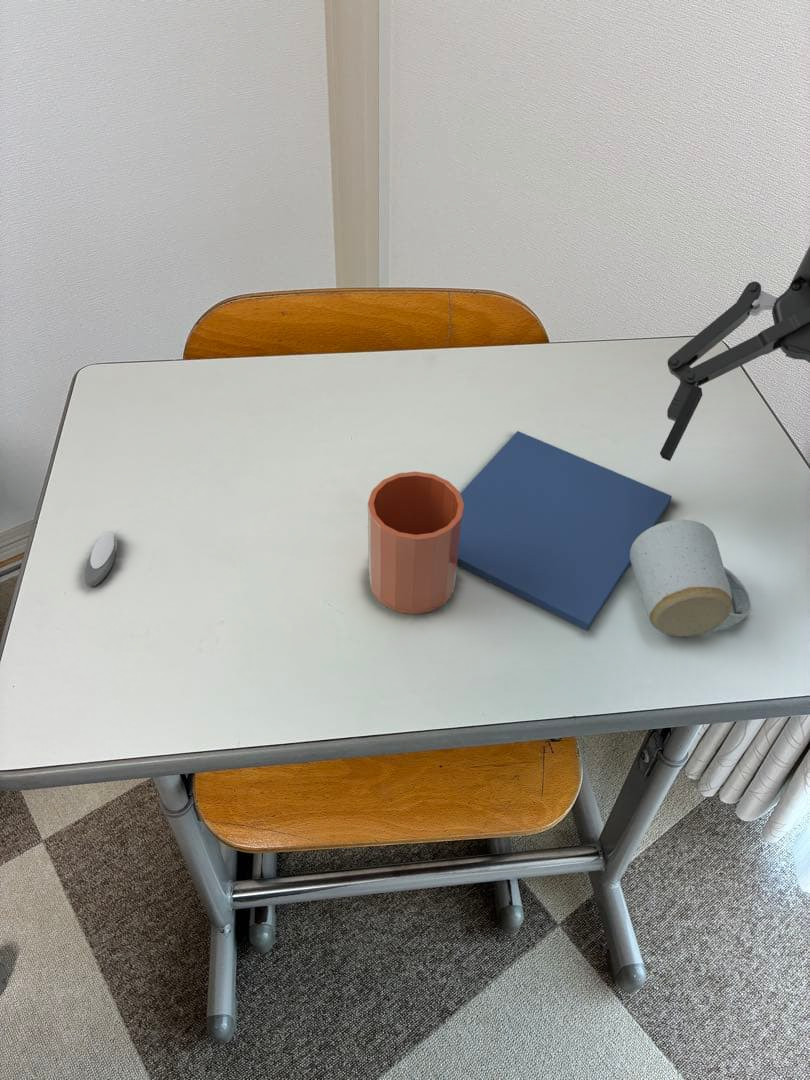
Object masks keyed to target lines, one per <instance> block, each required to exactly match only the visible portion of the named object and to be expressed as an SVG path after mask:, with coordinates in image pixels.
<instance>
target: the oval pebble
mask: <svg viewBox="0 0 810 1080" xmlns="http://www.w3.org/2000/svg"><path fill="white" fill-rule="evenodd" d="M117 541H118V540H117V538H116V536H115V533H114V532H113V531H112V530H107V531H105V532H103V533H102V535H101V536H99V539H98V540H97V541H96V543H95V544H94V546H93V548H92V551H91V553H90V555H89V556H88V558H87V560H86V564H85V569H84V579H85V582H86V585H88V586H90V587H95V586H98V584H100V583H101V582H102V581H103V580H104V579H105V577H106V576H107V575H108V573H109V572H110V570H111V569H112V567H113V565H114V562H115V558H116V554H117V547H118V542H117Z"/></svg>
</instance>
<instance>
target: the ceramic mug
mask: <svg viewBox="0 0 810 1080" xmlns="http://www.w3.org/2000/svg"><path fill="white" fill-rule="evenodd" d="M718 545H719V544H718V542H717V539H716V536H715V534H714V532H713V530H712V529H710V527H708V525H706V524H705V523H701V522H700V521H696V520H693V519H672V520H668V521H664V522H663V521H662V522H661V523H658V524H657V523H656V525H655V526H653V527H651V528H649V529H647V530H646V531H644V532H643V533H641V534H640V535H639V536H638V537H637V538H636V540H635V541H634V543H633V544H632V547H631V550H630V560H631V566H632V570H633V573H634V577H635V580H636V584H637V587H638V590H639V593H640V596H641V601H642V606H643V608H644V611H645V614H646V616H647V618H648V619H649V622H650V623H651V625H652V626H653V627H654V628H655V629H656V630H657V631H659V632H661V633H663V634H665V635H668V636H673V637H692V636H698V635H701V634H705V633H708V632H709V631H712V630H714V629H716V628H717V627H718V626H720V625H721V624H722V625H724V626H727V625H728V626H729V625H730V626H734V625H737V624H739V623H740V622H742V621H743V620H745V619H746V618H747V617H748V615H750V612H751V611H752V603H751V598H750V595H749V593H748V591H747V589H746V587H745V586H744V584H743V582H742V581H741V580H740V579H739V578H738V577H737V576H736V575H735V574H734V573H733V572H732V571H730V570H729V569H728V568H726V567H725V566H724V563H723V559H722V555H721V553H720V549H719V546H718ZM733 603H734V608H735V613H733V612H732V610H733V609H732V608H733Z"/></svg>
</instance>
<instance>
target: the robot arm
mask: <svg viewBox="0 0 810 1080" xmlns="http://www.w3.org/2000/svg"><path fill="white" fill-rule="evenodd" d="M767 310H769V311H771V315H772V319H773V323H774V324H773V325H771V326H769V327H767V328H765V329H763V330H761V331H760V332H758V333H757V334H756V335H754V336H752V337H750V338H748V339H747V340H744V341H742V342H741V343H738V344H736V345H735V346H733V347H730V348H729V349H726V350H724V351H723V352H721V353H719V354H717V355H714V356H713V357H711V358H708V359H706V360H705V361H702V362H700V363H699V364H696V365H694V366H693V367H691V366H692V365H693V364H694V363H696V362H697V361H699V359H702V357H704V356H705V355H706V354H707V353H708V352H710V351H711V350H712V349H713V348H715V346H717V345H718V344H719V343H721V342H722V341H723V340H725V338H727V337H728V336H730V334H732V333H733V332H734V331H735V330H737V329H738V328H739V327H740V326H741V325H742V324H744V323H745V322H746V321H747V319H748V318H749V317H750V316H752V317H753V316H754V317H756V316H759V315H760V314H761V313H762V312H764V311H767ZM778 349H780V350H781V351H782V353H784V354H785V357H787V358H790V359H793V360H801V361H802V360H803V361H806V362H807V363H809V364H810V245H809V246H808V248H807V250H806V252H805V253H804V256H803V258H802V260H801V262H800V264H799V266H798V268H797V270H796V272H795V274H794V276H793V278H792V280H791V282H790V284H789V286H788V287H787V289H786V290H785V291H784V292H783V293H782V294H780V296H779V295H776V294H774V293H772V292H770V291H767V290H765V289H762V285H761V283H760V282H758V281H750V282H749V283H748V284H747V285H746V286H745V288H744V289H743V290H742V293H741V294H740V296H739V298H738V299H737V300H736V302H734V304H733V305H732V306H730V307H729V308H728V309H727V310H726V311H724V312H723V313H722V314H721V315H720V316H718V317H717V318H716V319H714V320H713V321H712V322H711V323H709V324H708V325H707V326H706V327H705V328H703V329H702V330H701V331H700V332H699V333H698V334H696V335H695V336H693V338H691V339H690V340H689V341H688V342H687V343H685V344H684V345H683V346H682V347H681V348H679V349H678V350H677V351H675V352H673V354H672V355H670V357H669V358H668V359H667V361H666V363H667V367H668V370H669V373H670V374H671V375H672V376H674V377H675V378H676V379H678V380H679V385H678V387H677V388H676V391H675V393H674V396H673V397H672V399H671V402H670V403H669V405H668V408H667V412H666V416H667V419H669V420H670V421H673V425H672V427H671V429H670V431H669V433H668V435H667V436H666V437H667V438H666V439H665V442H664V444H663V446H662V448H661V449H660V452H659V455H660V457H661V458H662V459H664V460H666V461H668V462H671V461H672V459H673V456H674V454H675V453H676V450H677V448H678V446H679V444H680V442H681V440H682V438H683V436H684V434H685V432H686V430H687V428H688V426H689V424H690V422H691V419H692V417H693V415H694V413H695V411H696V410H697V407H698V406H699V404H700V401H701V399H702V397H703V395H704V394H703V389H702V387H701V386H703V385H705V384H706V383H709V382H710V381H713V380H715V379H717V378H719V377H721V376H723V375H725V374H727V373H729V372H731V371H734V370H735V369H737V368H739V367H741V366H743V365H746V364H747V363H749V362H751V361H754V360H756V359H757V358H759V357H762V356H764V355H765V356H766V355H768V354H771V353H772V352H775V351H776V350H778Z"/></svg>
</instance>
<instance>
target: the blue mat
mask: <svg viewBox="0 0 810 1080" xmlns="http://www.w3.org/2000/svg"><path fill="white" fill-rule="evenodd" d="M460 494H461V497H462V500H463V503H464V512H463V522H462V531H461V540H460V549H459V558H458V567H461V568H462V569H465V570H467V571H468V572H471V573H472V574H474V575H476V576H478V577H480V578H482V579H483V580H486V581H488V582H490V583H492V584H494V585H495V586H498V587H499V588H502V589H504V590H506V591H508V592H510V593H512V594H514V595H516V596H517V597H520V598H522V599H523V600H525V601H527V602H530V603H531V604H534V605H535V606H537V607H539V608H541V609H543V610H545V611H547V612H549V613H551V614H553V615H555V616H557V617H559V618H560V619H563V620H565V621H567V622H569V623H571V624H573V625H575V626H576V627H579V628H580V629H582V630H584V631H588V630H589V629H590V627H591V625H593V622H594V621H595V620H596V618H597V617H598V615H599V613H600V612H601V610H602V609H603V608H604V606H605V604H606V603H607V601H608V599H609V598H610V596H611V595H612V593H613V592H614V590H615V589H616V587H617V586H618V584H619V582H620V581H621V579H622V578H623V576H624V574H626V572H627V570H628V569H629V567H630V565H632V563H631V560H630V550H631V547H632V544H633V543H634V541H635V540H636V538H637V537H638V536H639V535H640V534H641V533H643V532H644V531H646V530H647V529H649V528H651V527H653V526H655V525H657V523H658V522H659V521H660V519H661V517H662V515H663V514H664V512H665V511H666V510H667V508H668V507H669V505H670V503H671V500H672V498H673V496H672V495H671V494H668V493H666V492H663V491H661V490H659V489H656V488H654V487H652V486H649V485H647V484H645V483H642V482H640V481H638V480H635V479H633V478H630V477H628V476H626V475H623V474H621V473H618V472H616V471H614V470H612V469H609V468H606V467H605V466H602V465H600V464H597V463H595V462H593V461H590V460H588V459H585V458H583V457H580V456H578V455H576V454H573V453H571V452H569V451H567V450H564V449H563V448H559V447H557V446H554V445H552V444H550V443H548V442H545V441H543V440H540V439H538V438H536V437H533V436H531V435H528V434H527V433H524V432H521V431H519V430H517V431H516V432H515V433H514V434H513V435H512V436H511V438H509V440H508V441H506V443H505V444H504V445H502V447H501V448H500V450H498V452H497V453H495V455H494V456H493V457H492V458H491V459H490V460H489V461H488V462H487V464H486V465H485V466H484V467H483V468H482V469H481V470H480V471H479V472H478V474H477V475H476V476H475V477H474V478H473V479H472V480H471V481H470V482H469V483H468V484H467V485H466V486H465V488H464V489H463V490H462V491H460Z"/></svg>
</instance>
